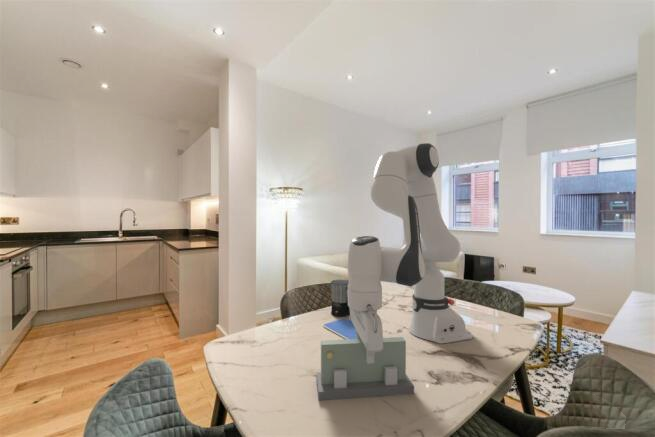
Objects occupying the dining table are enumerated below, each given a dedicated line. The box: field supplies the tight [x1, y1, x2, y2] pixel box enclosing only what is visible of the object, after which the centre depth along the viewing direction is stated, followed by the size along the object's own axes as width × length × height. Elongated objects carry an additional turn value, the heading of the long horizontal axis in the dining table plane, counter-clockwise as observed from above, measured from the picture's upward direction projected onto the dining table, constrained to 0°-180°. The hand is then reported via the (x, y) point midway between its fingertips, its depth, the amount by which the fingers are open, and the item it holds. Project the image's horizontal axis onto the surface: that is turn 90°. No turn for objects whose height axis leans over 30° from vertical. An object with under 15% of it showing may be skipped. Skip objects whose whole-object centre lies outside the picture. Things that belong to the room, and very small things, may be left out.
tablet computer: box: [322, 317, 357, 340], centre depth 105 cm, size 19×13×1 cm, turn 37°
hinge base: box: [315, 367, 415, 401], centre depth 70 cm, size 24×8×6 cm, turn 96°
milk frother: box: [330, 279, 350, 318], centre depth 126 cm, size 14×16×15 cm
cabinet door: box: [320, 336, 407, 384], centre depth 69 cm, size 22×4×10 cm, turn 96°
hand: (364, 352), depth 70 cm, fingers open, 8 cm apart
